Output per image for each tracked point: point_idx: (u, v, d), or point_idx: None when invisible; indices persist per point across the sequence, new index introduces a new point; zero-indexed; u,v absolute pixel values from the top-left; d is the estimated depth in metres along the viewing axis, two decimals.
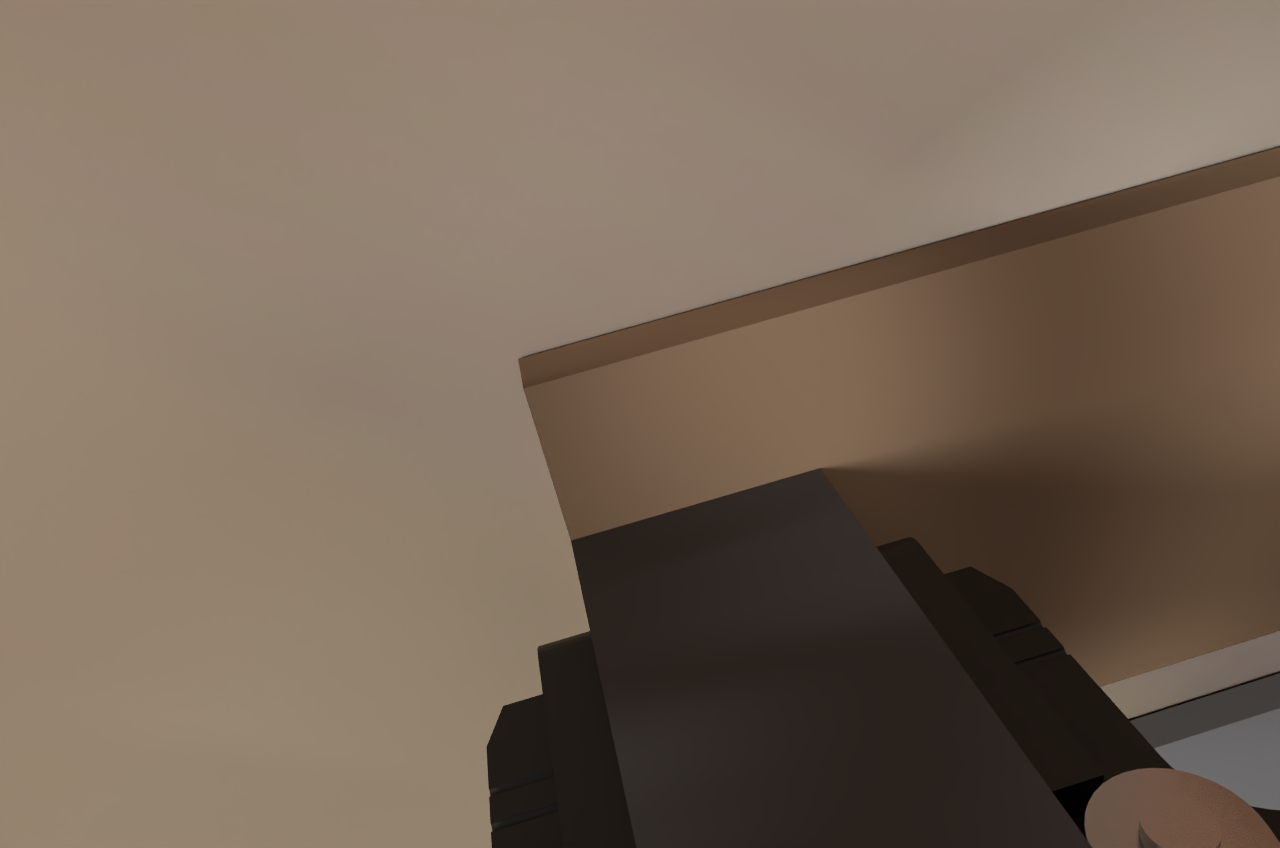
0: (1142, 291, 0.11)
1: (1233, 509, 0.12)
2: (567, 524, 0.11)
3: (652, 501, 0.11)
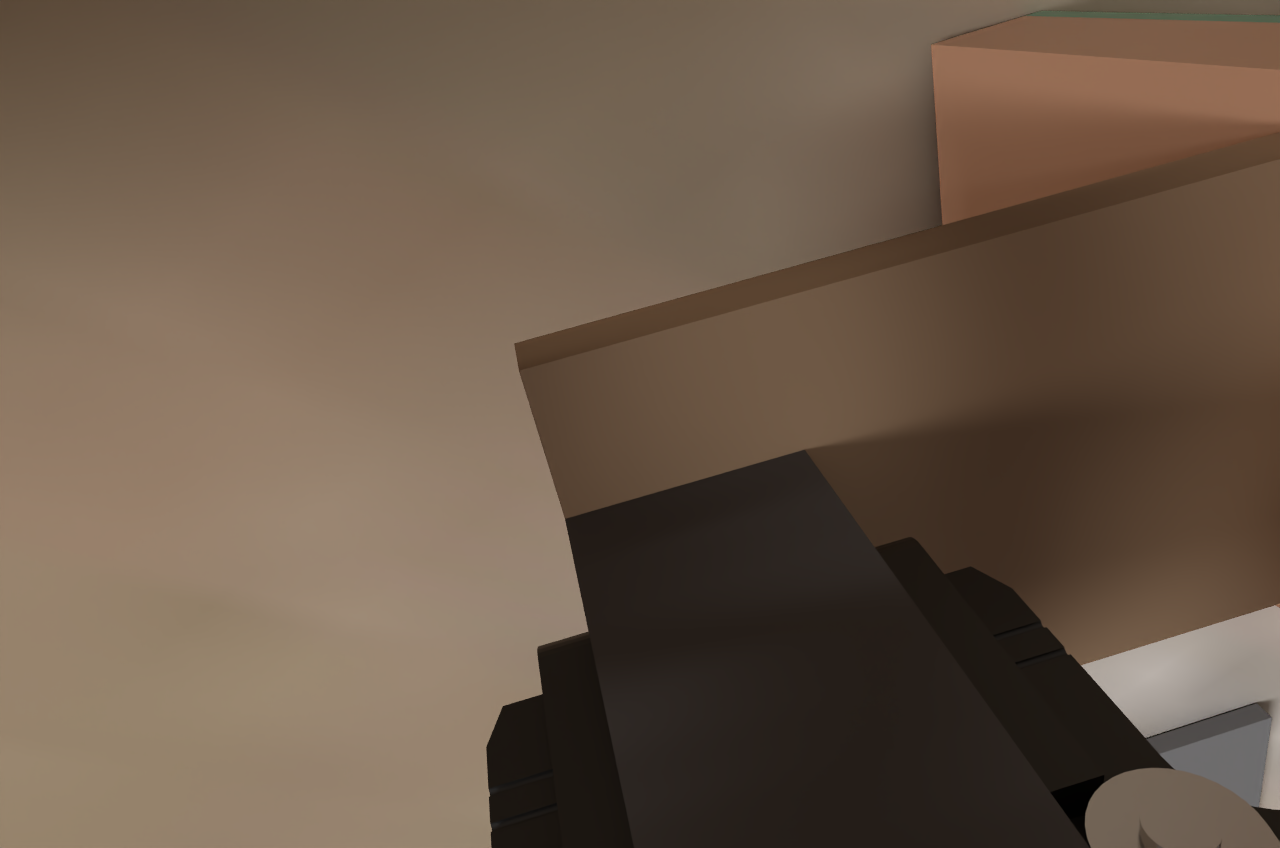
0: (1115, 279, 0.11)
1: (1207, 492, 0.13)
2: (561, 503, 0.11)
3: (643, 481, 0.11)
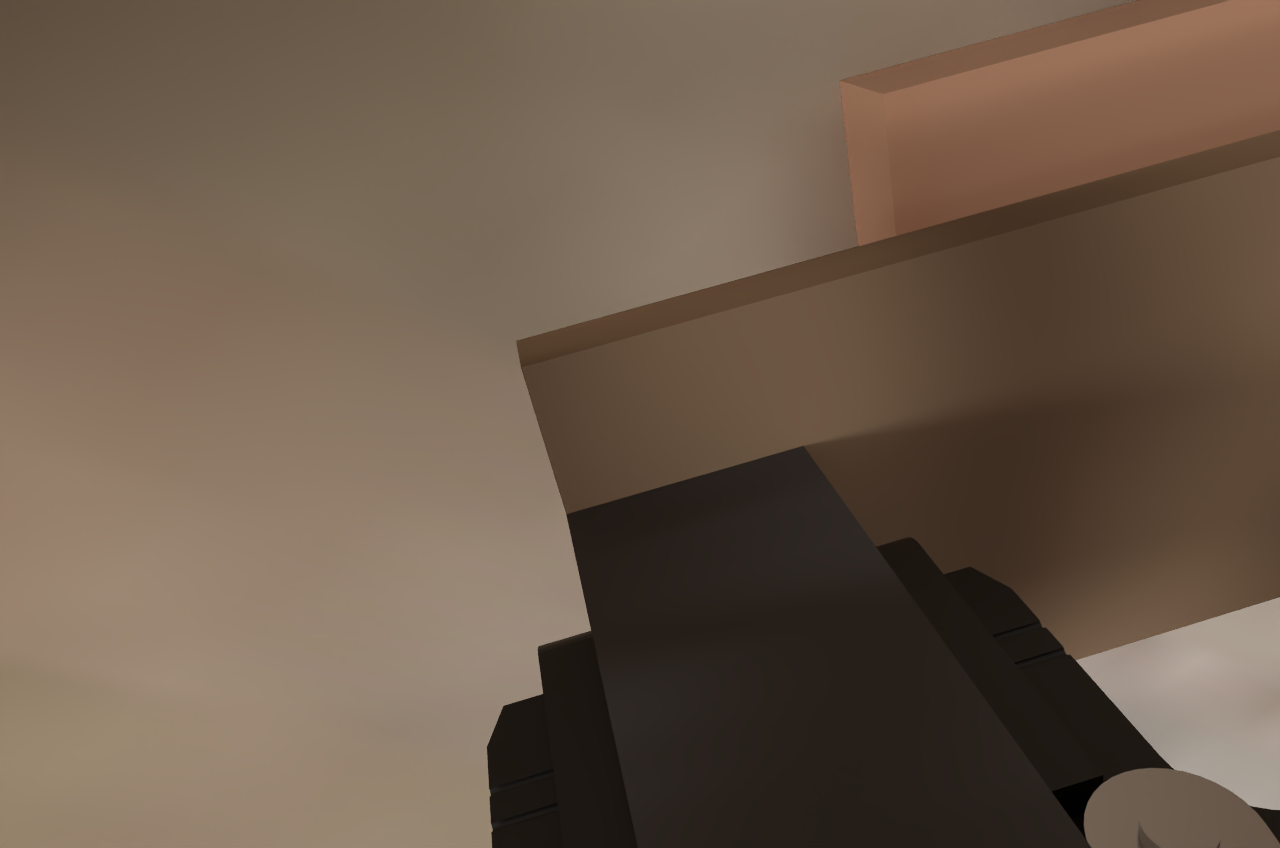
0: (1110, 277, 0.11)
1: (1202, 488, 0.13)
2: (563, 498, 0.11)
3: (644, 476, 0.11)
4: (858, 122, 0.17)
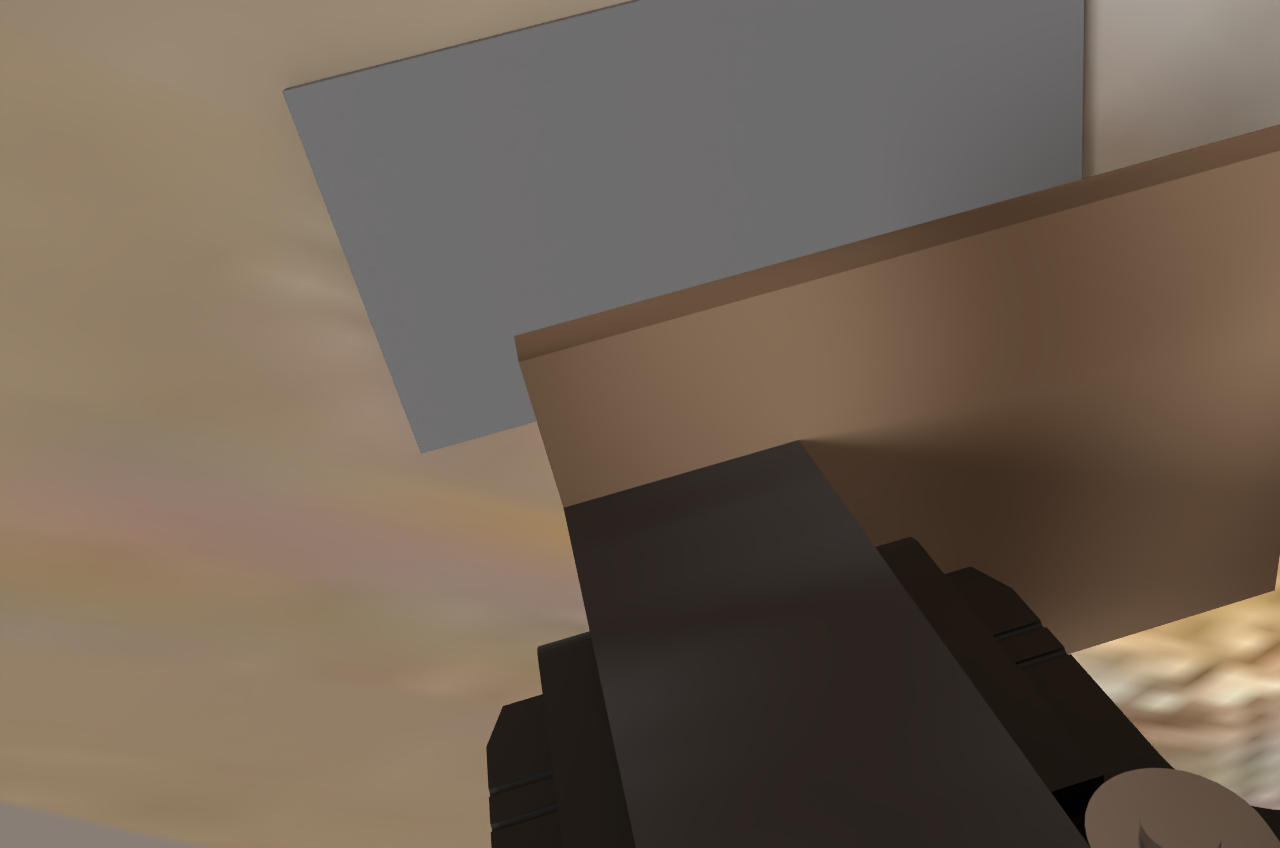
0: (1102, 273, 0.11)
1: (1193, 482, 0.13)
2: (560, 492, 0.11)
3: (640, 470, 0.11)
4: None
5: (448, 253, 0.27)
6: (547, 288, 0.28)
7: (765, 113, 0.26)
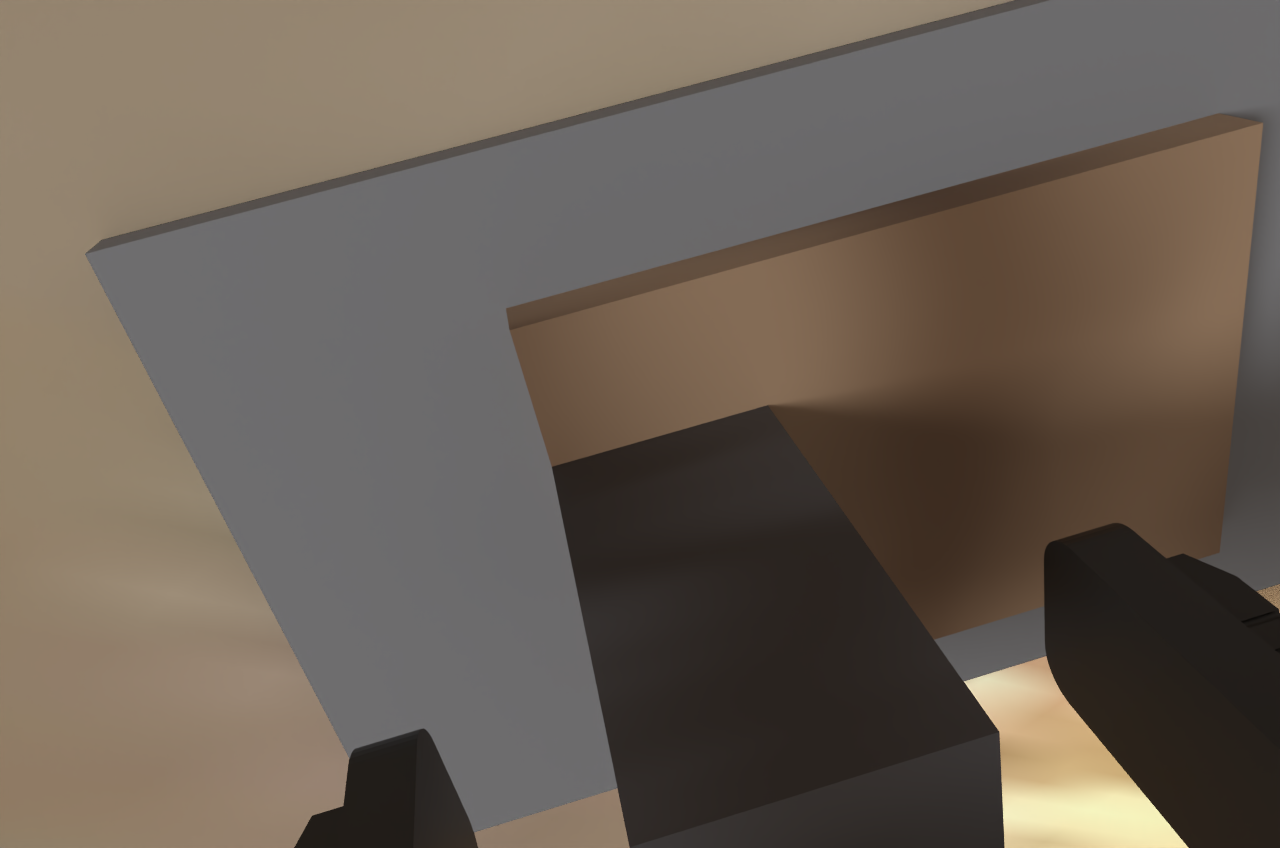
0: (1046, 250, 0.12)
1: (1139, 448, 0.14)
2: (548, 452, 0.12)
3: (622, 432, 0.12)
4: None
5: (449, 539, 0.14)
6: None
7: None
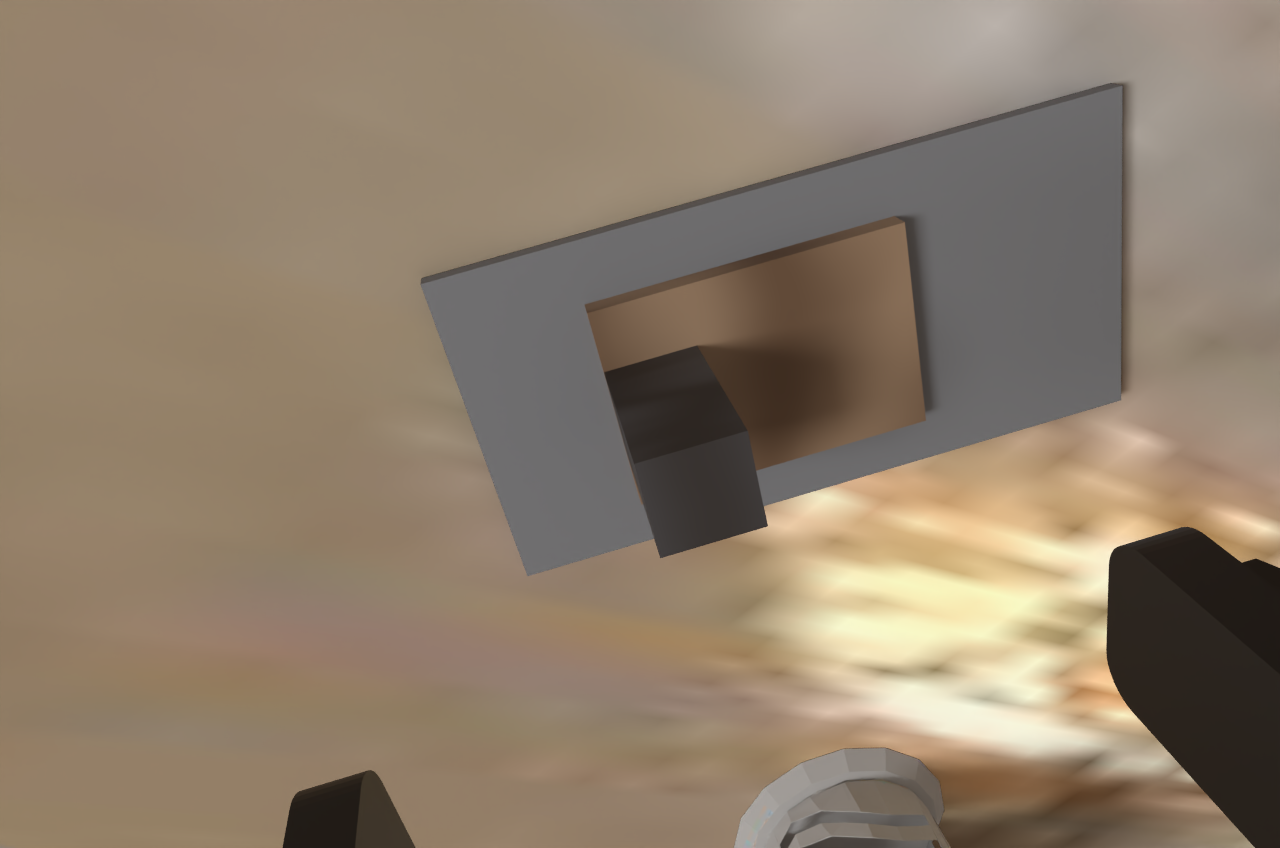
0: (815, 277, 0.29)
1: (874, 367, 0.30)
2: (602, 365, 0.29)
3: (634, 357, 0.29)
4: None
5: (557, 409, 0.30)
6: None
7: None
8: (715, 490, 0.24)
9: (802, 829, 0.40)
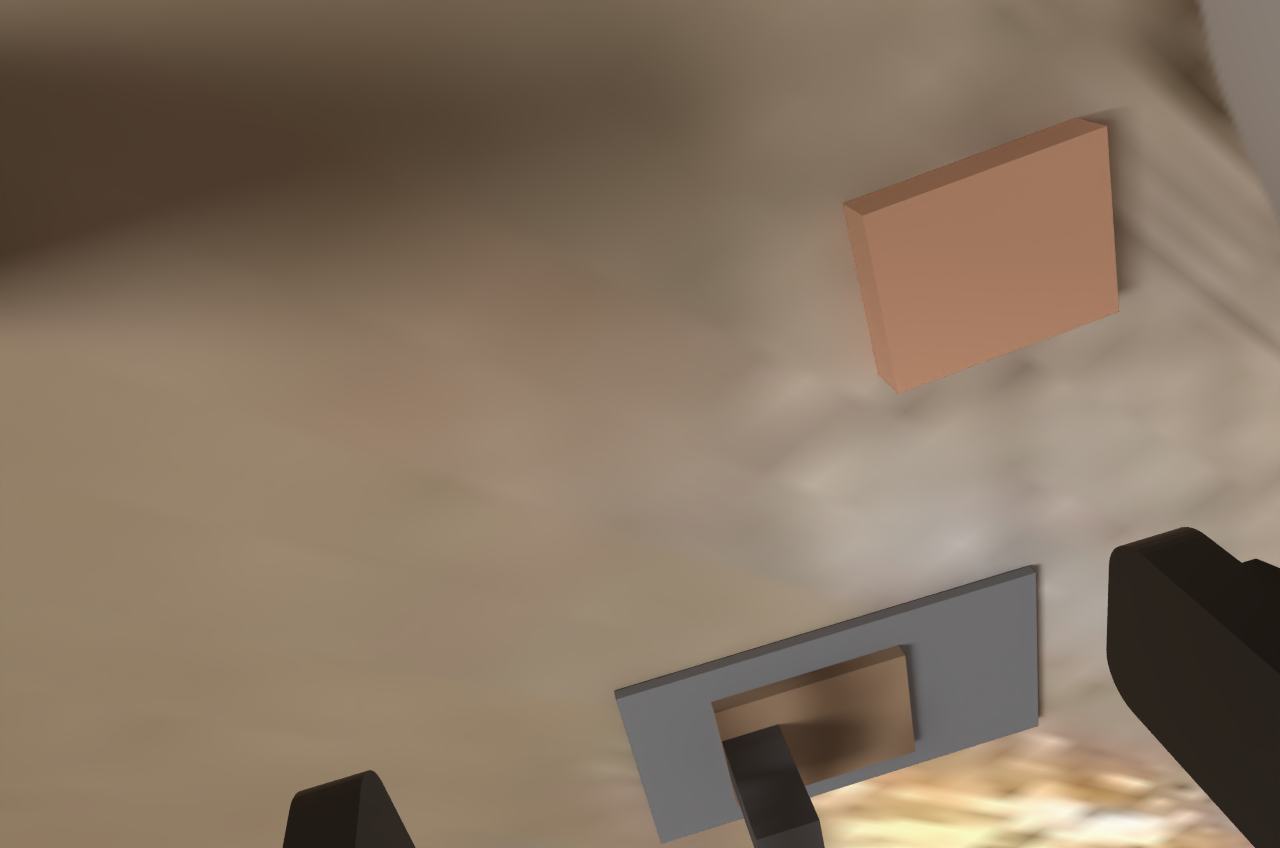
0: (850, 685, 0.47)
1: (884, 726, 0.49)
2: (721, 738, 0.47)
3: (740, 732, 0.47)
4: (853, 223, 0.37)
5: (689, 755, 0.49)
6: None
7: None
8: None
9: None
